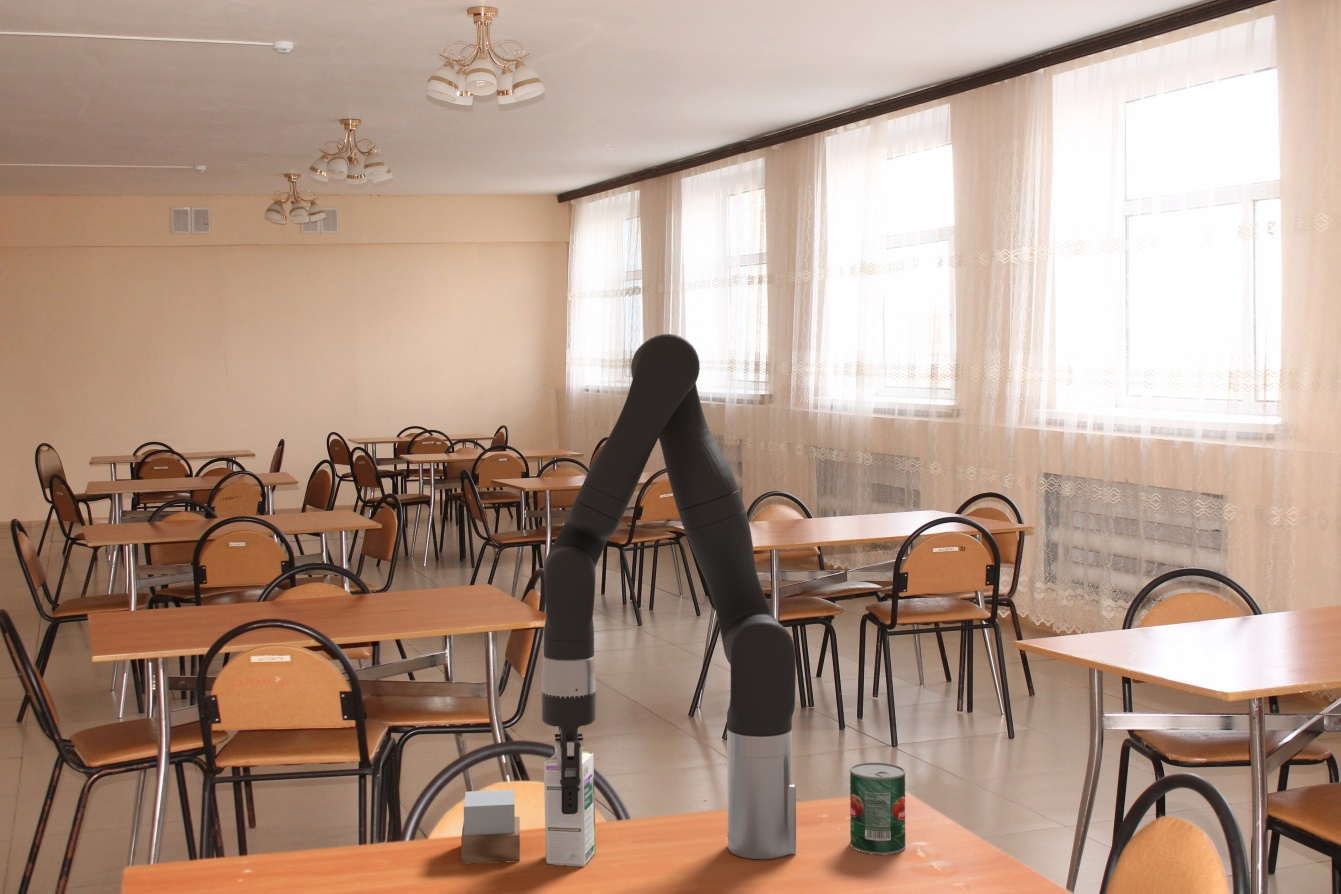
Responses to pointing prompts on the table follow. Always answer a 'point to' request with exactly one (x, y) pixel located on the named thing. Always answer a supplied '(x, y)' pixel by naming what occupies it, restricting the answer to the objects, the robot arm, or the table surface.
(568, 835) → the syrup box
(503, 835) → the tower base
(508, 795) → the tower top
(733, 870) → the table surface
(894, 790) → the canned tomato
